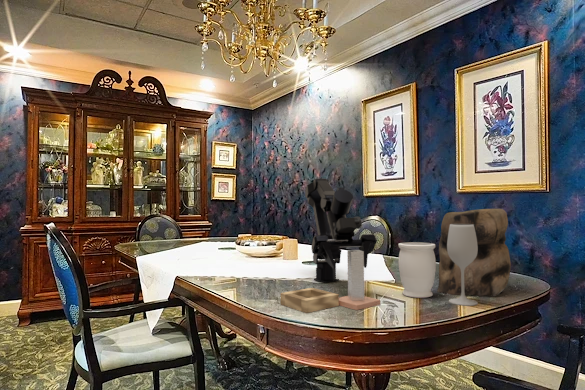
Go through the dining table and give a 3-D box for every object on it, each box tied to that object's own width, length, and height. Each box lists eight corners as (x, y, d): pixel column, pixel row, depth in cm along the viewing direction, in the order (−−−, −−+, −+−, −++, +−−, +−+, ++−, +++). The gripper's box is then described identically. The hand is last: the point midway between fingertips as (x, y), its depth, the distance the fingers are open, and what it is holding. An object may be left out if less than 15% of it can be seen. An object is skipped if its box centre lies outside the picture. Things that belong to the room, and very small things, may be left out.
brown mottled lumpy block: (508, 300, 108) (506, 209, 109) (432, 292, 119) (430, 209, 120) (514, 287, 125) (512, 208, 125) (446, 281, 136) (445, 208, 136)
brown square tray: (311, 298, 113) (311, 287, 113) (338, 305, 104) (338, 294, 104) (280, 304, 106) (280, 293, 106) (306, 313, 98) (306, 300, 98)
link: (348, 298, 108) (347, 250, 108) (360, 297, 108) (359, 249, 108) (351, 301, 104) (351, 251, 105) (364, 300, 105) (363, 251, 105)
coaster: (355, 298, 112) (355, 294, 112) (380, 304, 105) (380, 299, 105) (332, 303, 107) (332, 298, 107) (356, 310, 100) (356, 305, 100)
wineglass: (482, 306, 102) (480, 225, 103) (450, 305, 104) (449, 225, 104) (474, 299, 110) (473, 223, 110) (445, 298, 111) (444, 223, 112)
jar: (417, 300, 109) (416, 246, 109) (391, 293, 118) (390, 243, 118) (444, 296, 114) (443, 244, 114) (417, 289, 123) (416, 241, 123)
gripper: (313, 207, 115) (322, 251, 104) (374, 207, 118) (389, 249, 107) (308, 232, 123) (316, 275, 112) (365, 231, 126) (378, 272, 115)
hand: (350, 267), depth 111 cm, fingers open, 9 cm apart
